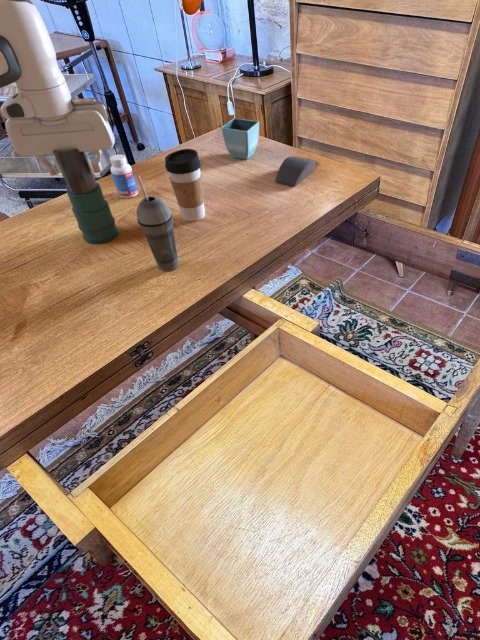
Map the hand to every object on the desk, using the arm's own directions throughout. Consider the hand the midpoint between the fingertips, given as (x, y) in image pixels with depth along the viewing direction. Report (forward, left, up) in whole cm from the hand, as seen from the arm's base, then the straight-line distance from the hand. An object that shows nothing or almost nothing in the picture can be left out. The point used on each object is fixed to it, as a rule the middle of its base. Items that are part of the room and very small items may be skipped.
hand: (76, 172), depth 98 cm
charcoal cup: (0, 0, -4) cm, 4 cm away
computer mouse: (+53, +23, -15) cm, 60 cm away
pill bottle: (+5, +21, -15) cm, 26 cm away
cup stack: (0, 0, -15) cm, 15 cm away
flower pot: (+39, +40, -15) cm, 58 cm away
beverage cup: (+17, -17, -15) cm, 28 cm away
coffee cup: (+23, +5, -15) cm, 28 cm away
